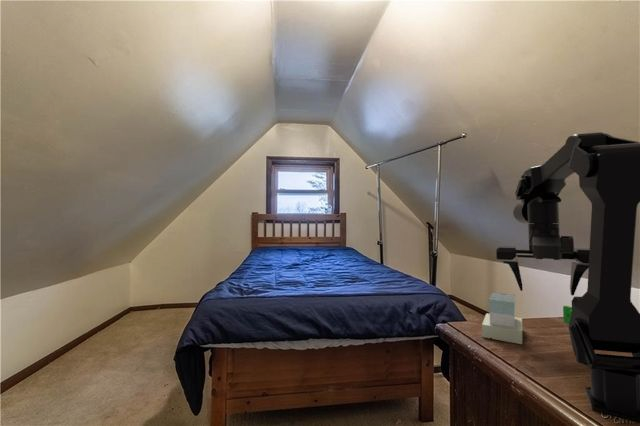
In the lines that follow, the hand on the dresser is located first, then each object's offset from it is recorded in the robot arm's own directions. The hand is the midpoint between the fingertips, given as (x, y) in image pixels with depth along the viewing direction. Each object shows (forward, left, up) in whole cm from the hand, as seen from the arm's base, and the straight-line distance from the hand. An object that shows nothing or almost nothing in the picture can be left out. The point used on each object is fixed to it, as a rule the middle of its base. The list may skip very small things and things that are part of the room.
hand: (545, 292), depth 68 cm
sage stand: (+2, +9, -12) cm, 15 cm away
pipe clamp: (+16, -8, -12) cm, 22 cm away
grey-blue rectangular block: (+2, +9, -9) cm, 12 cm away
